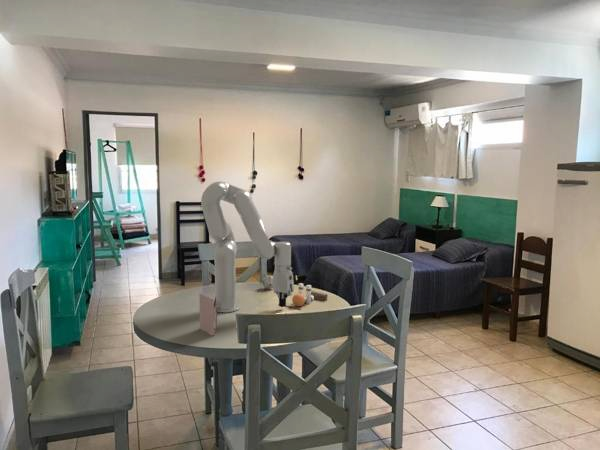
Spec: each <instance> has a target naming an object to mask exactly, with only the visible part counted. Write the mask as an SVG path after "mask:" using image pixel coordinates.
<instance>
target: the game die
mask: <svg viewBox="0 0 600 450" xmlns="http://www.w3.org/2000/svg"><path fill="white" fill-rule="evenodd" d="M273 274H274V273H272V274H271V275H265V274H263V278H262V281H261V285H262V286H263V288H264V290H267V289H273Z"/></svg>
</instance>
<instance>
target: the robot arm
mask: <svg viewBox="0 0 600 450" xmlns="http://www.w3.org/2000/svg"><path fill="white" fill-rule="evenodd" d="M221 201H223V202H226V203H228V204H231V205H233V206H234V208H235V209H236V212H237V214H238V216H239V217H240V219H241V222H242V223H243V225H244V228H245V230H246V232H247V235H248V236H249V239H250V240H251V241H250V242H251V243H252V245H253V247H254V249H255V251H256V253H257V255H258V256H259V258H261V259H263V260H265V261H267V260H270V259H272V258H273V257H274V271H273V273H272V274H273V275H272V276H273V288H272V290H273V293H275V294H276V295H277V298H278V304H279V305H278V307H281V308H283V307H286V306H287V298H288V297H291V296H293V292H294V290H295V289H294V288H295V287H294V286H295V284H294V283H295V281H294V272H293V271H292V270H293V267H292V266H291V265H292V244H291V243H290V242H288V241H271V240H270V239H269V237H268V235H267V233H266V230H265V228H264V222H263V219H262V216H261V214H260V213H259V211H258V210H257V209H258V208H257V207H256V205H255V203H254V201H253V199H252V195H251V193H250V192H249V191H248V190H246V189H243V188H240V187H237V186H235V185H232V184H229V183H227V182H224V181H215V182H212V183H211V184H209V185H208V186H207V187H206V188H205V190H204V191H203V193H202V195H201V200H200V202H201V203H200V205H201V208H202V212H203V217H204V220H205V223H206V226H207V230H208V233H209V236H210V238H211V239H212V240H214V242H215V243H214V244H215V246H216V247H215V250H214V254H213V260H214V295H215V294H216V309H217V313H222V312H223V313H226V314H227V313H233V312H237V311H239V309H240V306H239V304H237V303H236V302H237V301H236V299H237V298H236V290H237V289H236V285H237V284H236V283H237V281H236V280H237V279H236V278H237V277H236V255H237V252H238V246H237V243H236V239H235V237H234V232H233V230H232V226H231V224H230V223H229V222H228V220H226V219H225V216H224V213H223V209H222V207H221ZM223 313H222V314H223Z"/></svg>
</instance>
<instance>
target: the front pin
mask: <svg viewBox="0 0 600 450" xmlns="http://www.w3.org/2000/svg"><path fill="white" fill-rule="evenodd" d="M304 299H305V301H304V304H306V296H305V297H304ZM311 301H314V296H313V295H311Z"/></svg>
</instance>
